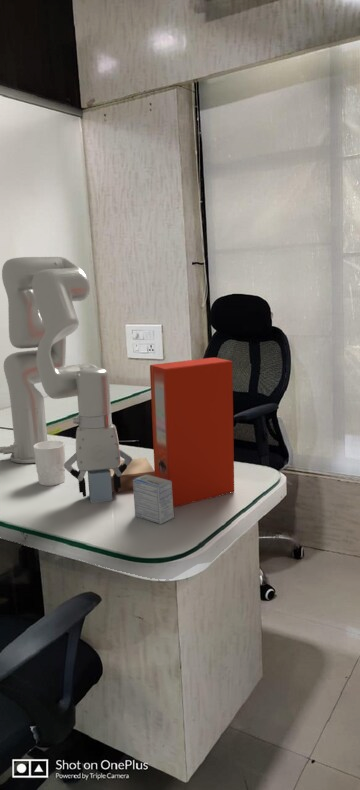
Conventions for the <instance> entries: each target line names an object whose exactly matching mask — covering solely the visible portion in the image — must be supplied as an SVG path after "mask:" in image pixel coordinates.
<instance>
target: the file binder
mask: <svg viewBox="0 0 360 790" xmlns="http://www.w3.org/2000/svg"><path fill="white" fill-rule="evenodd" d="M149 376H150V377H149V378H150V396H151V397H150V398H151V399H150V401H151V422H152V423H151V424H152V445H153V464H154V465H153V470H154V471H155V477H158V478H162V479H166V480H170V481H171V482H172V496H173V508H175V507H176V508H177V507H179V506H183V505H187V504H191V503H196V502H200V501H203V500H208V499H212V498H213V499H214V498H216V496H217V497H220V496H219V495H221V496H223V495H222V494H225V495H227V494H226V493H229V494H231V493H230V492H233V493H235V460H234V459H235V458H234V457H235V453H234V451H235V450H234V448H235V447H234V443H235V441H234V392H233V391H234V389H233V388H234V387H233V361H232V360H229V359H224V358H219V357H205V358H198V359H189V360H182V361H171V362H164V363H155V364H150V365H149Z"/></svg>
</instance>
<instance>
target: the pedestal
mask: <svg viewBox="0 0 360 790" xmlns="http://www.w3.org/2000/svg"><path fill="white" fill-rule="evenodd" d="M124 460H125V459H123V460H121V459H120V465H121V464H122V463H123V462H124ZM120 465H119V466H120ZM119 466H118V467H119ZM110 472H111V486H112V493H114V492H115V490H114V480H113V474H114V471H113V469H110ZM144 475H151V476H155V471H154V467H152V465H151V463H150V462H149V460H148V458H147V457H141V458H132V461H131V462H130V464H129V465H128V466H127V468H126V470H125V471H124V472H123V473H122V475H121V476H120V482H121V488H118V491H119V492H122V491H123V492H124V491H129V490H130V491H131V490H133V480H134V479H136V478H138V477H141V476H144Z"/></svg>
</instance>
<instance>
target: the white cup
mask: <svg viewBox="0 0 360 790" xmlns="http://www.w3.org/2000/svg"><path fill="white" fill-rule="evenodd" d="M33 447H34V455H35V462H36V463H35V468H36V473H37V479H38V481H37V482H38V483H39V485H41V486H48V487H49V486H57V485H60V484H63V483H64V482H65V481H66V469H65V468H64V463H65V462H66V450H65V449H66V448H65V442H64V441H61V440H47V441H45V442H40V443H37V444H35V445H34V446H33Z"/></svg>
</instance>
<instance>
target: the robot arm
mask: <svg viewBox="0 0 360 790" xmlns="http://www.w3.org/2000/svg"><path fill="white" fill-rule="evenodd" d="M1 280H2V284H3V287H4V290H5V293H6V295H7V303H8V305H7V307H8V308H7V309H8V338H9V342H10V344H11V345H12V347H14V348H16V349H20V350H21V349H31V350H25V351H17V352H13V353H11V354H9V355H8V356H7V357H5V359H4V362H3V372H4V375H5V379H6V383H7V387H8V388H7V389H8V392H9V400H10V410H11V411H10V412H11V419H12V420H11V421H12V431H13V444H9V446H4V445H3V446H0V454H3V455H9V454H10V456H9V457H10V461H11V462H13V463H15V464H16V463H17V464H33V463H35V464H36V462H35V455H34V447H33V446H34V445H35V444H37V443H40V442H45V441H48V432H47V431H48V430H47V419H46V408H45V407H46V405H45V399H44V396H43V394H42V392H40V391H39V390H38V388H37V387H36V386H35V385H36V384H39V383H41V385H42V388H43V390H44V392H45V394H46V395H47V396H48V397H49V398H51V399H53V400H54V399H55V400H60V399H66V398H74V397H77V405H78V406H77V408H78V410H77V411H78V415H77V416H76V417H74V418H72V424H73V425H75V424H76V425H78V427H77V428H76V432H75V433H76V434H75V453H74V454H73V455H72V456H70V458H68V459H67V460H65V463H64V468H65V471H67V472H68V473H70V475H71V476H73V477H74V478H75V479H77V481H78V491H79V492H78V493H81V494H82V497H83V498H85V497H86V496H87V490H86V489H87V487H86V480H85V479H86V478H85V476H86V473H87V472H88V471H95V470H104V469H113V471H114V474H113V480H114V490H115V493H116V494H119V492H120V491H118V488H121V482H120V476H121V475H122V473H123V472H124V471H125V470H126V468H127V466H128V465H129V464H130V462H131V461H132V459H133V457H132V456H131V455H129V454H128V453H126V452H125V451H124V450H122V449H121V448H120V443H119V437H118V436H119V435H118V431H117V426H116V425H115V424H113V421H112V406H111V390H110V388H111V387H110V375H109V374H110V373H109V372H108V370H107V369H105V368H103V367H98V366H97V365H95V364H93V363H81V364H72V365H71V364H70V365H66V352H67V351H66V350H67V349H66V348H67V337H68V336H69V335H72V334H73V333H74V332H75V331H76V330H78V328H79V325H80V324H79V319H78V315H77V313H76V312H77V311H76V310H75V308H74V307H75V306H74V303H73V302H82V301H85V300H86V299H87V298H88V297H89V295H90V281H89V278H88V277H87V275H86V273H85V272H84V270H83V269H82V268H80V267H79V266H78V265H76V264H75V263H74V262H72V261H71V260H70V259H67V258H65V257H62V256H23V257H22V256H21V257H13V258H10V259H7V260H6V261H5V262H4V263H3V265H2V269H1ZM34 348H37V349H36V350H34ZM121 458H122V459H123V460H124V462H123V463H122V464H121V465H120V461H121ZM75 463H76V466H77V469H78V470H77V469H76V468H74V467H73V464H75ZM119 465H120V466H119ZM118 466H119V467H118Z"/></svg>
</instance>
